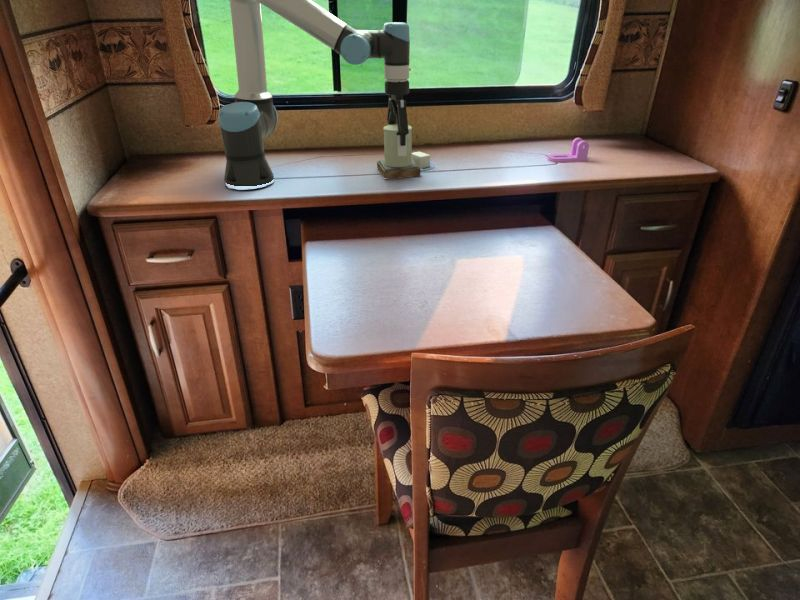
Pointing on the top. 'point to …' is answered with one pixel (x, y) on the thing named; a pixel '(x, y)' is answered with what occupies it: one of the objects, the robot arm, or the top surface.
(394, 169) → the stand
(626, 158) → the top surface
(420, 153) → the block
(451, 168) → the top surface
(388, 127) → the can
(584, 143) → the bracket
